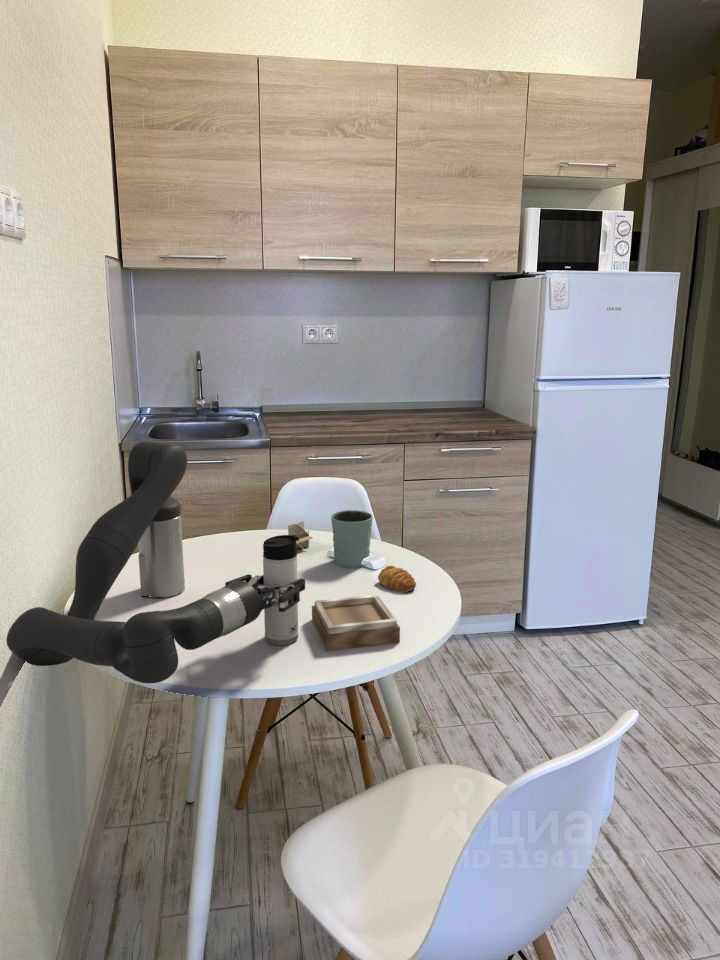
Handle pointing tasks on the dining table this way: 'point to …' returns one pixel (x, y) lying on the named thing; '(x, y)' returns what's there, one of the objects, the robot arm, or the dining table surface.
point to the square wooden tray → (354, 622)
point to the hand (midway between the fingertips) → (289, 579)
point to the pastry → (396, 579)
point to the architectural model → (300, 534)
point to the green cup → (351, 537)
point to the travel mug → (281, 571)
